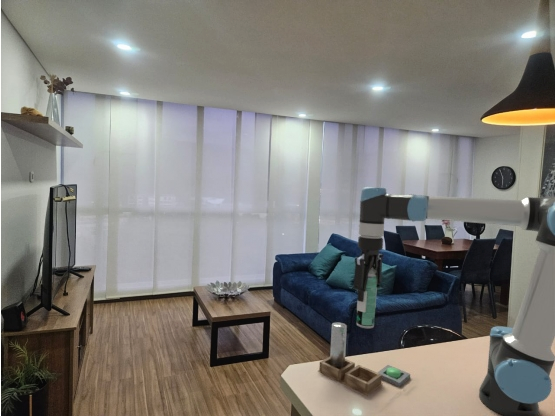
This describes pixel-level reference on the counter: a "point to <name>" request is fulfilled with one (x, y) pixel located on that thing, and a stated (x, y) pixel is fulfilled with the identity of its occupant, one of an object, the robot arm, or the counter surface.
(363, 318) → the spray can
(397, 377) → the button
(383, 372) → the gray square frame
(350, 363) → the wooden double crate
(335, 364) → the seated billet
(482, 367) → the counter surface
